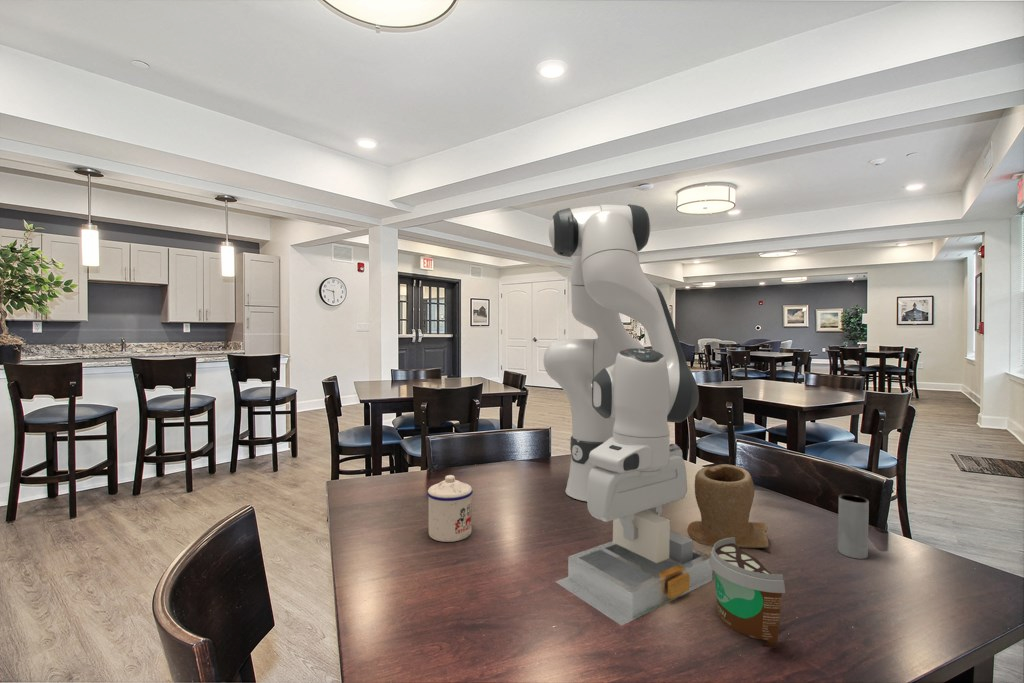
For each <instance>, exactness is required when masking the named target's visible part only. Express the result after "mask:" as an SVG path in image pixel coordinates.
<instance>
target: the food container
mask: <svg viewBox="0 0 1024 683" xmlns="http://www.w3.org/2000/svg"><path fill="white" fill-rule="evenodd" d="M709 556H710V559H709V564H710V566H711V568H712V570H713V571H714V572H715V579H714V584H715V597H716V598H715V599H716V612H717V613H716V614H717V615H718V618H719V619H720V621H721V622H722V623H723V624H724V625H726V626H727V627H728V628H730V629H732V630H734V631H735V632H737V633H739V634H742V635H743V636H747V637H750V638H753V639H757V640H763V641H766V642H765V643H763V644H762V645H761V646H762V647H763V648H770V649H771V648H778V642H779V633H780V632H779V630H780V619H781V618H780V617H781V606H782V597H783V596H782V595H783V594H786V585H785V580H784V575H783V574H775V573H774V574H773V573H771V572H770V571H769V570H768V569H767V568H766V567H765V566H764V565H763V564H762V563H761V562H760V561H759V559H757V558H756V557H755V556H753V555H751V554H749V553H747V552H746V551H745V550H743V549H742V548H739V547H738V546H737V545H735V538H726V539H722V540H719V541H718V542H716V543H715V544H714V546H712V549H711V551H710V554H709Z"/></svg>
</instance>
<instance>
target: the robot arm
mask: <svg viewBox="0 0 1024 683" xmlns="http://www.w3.org/2000/svg"><path fill="white" fill-rule="evenodd" d="M550 221H551V222H550V224H549V228H548V239H549V242H550V245H551V247H552V250H553V251H554V253H556V254H557V255H558V256H562V257H566V258H572V262H571V263H572V264H571V274H570V275H571V278H570V282H571V284H570V288H571V313H572V316H573V318H574V319H575V320H576V321H578V322H579V323H580V324H582V325H583V326H586V327H587V328H590V329H592V330H593V331H595V333H596V335H597V338H568V339H562V340H561V339H560V340H557V341H552V342H551V343H550V344H549V345H548V346H547V348H546V349H545V351H544V355H543V367H544V371H545V373H547V376H549V378H551V379H552V380H553V381H555V382H556V383H557V384H558V386H560V387H561V388H562V390H563V392H564V393H565V395H566V397H567V400H568V402H569V405H570V411H571V428H572V429H571V430H572V433H571V434H572V435H571V436H570V441H569V442H570V443H569V444H570V447H569V449H570V450H569V451H570V457H571V458H570V465H569V473H568V479H567V481H566V488H565V494H566V495H567V496H568V497H570V498H573V499H576V500H578V501H582V502H586V503H587V505H586V506H587V510H588V512H589V514H590V515H591V516H592V517H593V518H595V519H597V520H599V521H603V522H604V523H605V522H606V523H607V522H613V520H615V519H618V518H619V520H620V522H621V524H622V526H623V536H624V538H625V539H627V540H629V541H632V540H635V539H637V538H638V528H636V527H634V526H633V523H632V520H634V514H635V513H638V512H641V511H644V510H645V511H648V512H651V513H653V514H656V515H658V516H661V514H662V511H663V506H664V505H667V504H671V503H674V502H677V501H680V500H683V499H685V497H686V495H687V492H688V480H687V479H688V478H687V468H686V463H685V460H684V457H683V450H682V449H681V447H680V446H678V444H676V443H670V438H671V436H670V432H671V430H670V427H669V423H678V424H679V423H682V422H683V421H685V420H686V419H688V418H689V417H690V416H691V415H692V414H693V413H694V412H695V410H696V408H697V407H698V404H699V401H700V400H699V399H700V393H699V387H698V383H697V381H696V378H695V376H694V375H693V373H692V371H691V369H690V367H689V364H688V362H687V361H686V357H685V354H684V352H683V349H682V345H681V342H680V340H679V336H678V333H677V330H676V328H675V324H674V321H673V318H672V316H671V315H672V314H671V312H670V310H669V307H668V304H667V301H666V299H665V297H664V295H663V292H662V291H661V289H660V288H659V287H657V286H656V285H653V283H652V282H651V281H650V280H649V279H648V277H647V276H646V275H645V272H644V270H643V268H642V267H641V264H640V263H641V262H640V259H639V258H640V257H639V252H641V251H642V250H643V249H644V248H645V247H646V246H647V245H648V242H649V238H650V235H651V229H652V228H651V221H650V217H649V213H648V211H647V210H646V209H645V207H643V206H642V205H638V204H637V205H636V204H630V203H629V204H627V205H623V204H598V205H590V206H582V207H577V208H570V207H567V208H563V209H559V210H557V211H556V212H555V213H554V214H553V216H552V218H551V220H550ZM620 314H621V315H623V316H626V317H628V318H631V319H632V320H634V321H636V322H638V323H639V324H640V325H641V326H642V327H643V328H644V329H645V331H646V334H647V336H648V340H649V342H650V346H651V348H652V349H647V348H645V347H644V346H643V345H642V343H640V341H638V340H636V339H635V338H634V337H633V336H631V335H630V333H629V331H627V329H626V328H625V326H624V325H623V322H622V320H621V317H620V316H621V315H620Z"/></svg>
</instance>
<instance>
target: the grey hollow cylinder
mask: <svg viewBox="0 0 1024 683" xmlns="http://www.w3.org/2000/svg"><path fill="white" fill-rule="evenodd" d="M869 504H870V501H869V499H867V498H865V497H863V496H860V495H855V494H850V493H849V494H847V493H844V494H843V493H842V494H840V495H838V510H837V511H838V512H837V513H838V514H837V516H838V517H837V518H838V520H837V521H838V522H837V524H838V525H837V527H838V528H837V551H838V552H839V554H842V555H843V556H845V557H849V558H853V559H861V560H862V559H867V558H868V556H869V555H868V554H869V516H870V514H869V513H870V512H869V511H870V509H869V508H870V507H869Z"/></svg>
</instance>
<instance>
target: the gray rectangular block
mask: <svg viewBox="0 0 1024 683" xmlns="http://www.w3.org/2000/svg"><path fill="white" fill-rule="evenodd" d="M693 549H694V539H692V538H690V537H687V536H684V535H682V534H679V533H676V532H675V531H672V530H670V538H669V558H670V559H673V560H675V561H677V562H679V563H681V564H685V563H687V562H689V561H692V560H693Z"/></svg>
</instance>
